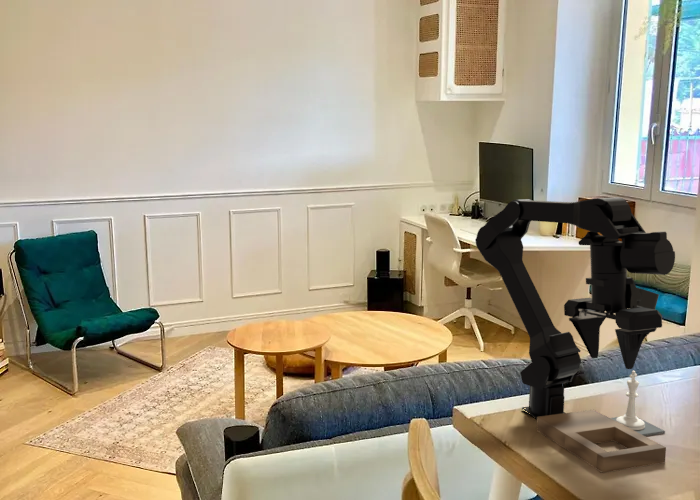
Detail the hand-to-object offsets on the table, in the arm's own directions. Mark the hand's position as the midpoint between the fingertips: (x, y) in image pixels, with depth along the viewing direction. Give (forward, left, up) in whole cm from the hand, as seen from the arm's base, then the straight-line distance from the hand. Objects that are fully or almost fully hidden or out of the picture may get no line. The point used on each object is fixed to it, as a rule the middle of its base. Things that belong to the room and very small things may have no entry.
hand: (611, 363), depth 119 cm
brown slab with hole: (+2, -4, -13) cm, 14 cm away
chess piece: (-3, +7, -13) cm, 15 cm away
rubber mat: (-2, +7, -13) cm, 15 cm away
